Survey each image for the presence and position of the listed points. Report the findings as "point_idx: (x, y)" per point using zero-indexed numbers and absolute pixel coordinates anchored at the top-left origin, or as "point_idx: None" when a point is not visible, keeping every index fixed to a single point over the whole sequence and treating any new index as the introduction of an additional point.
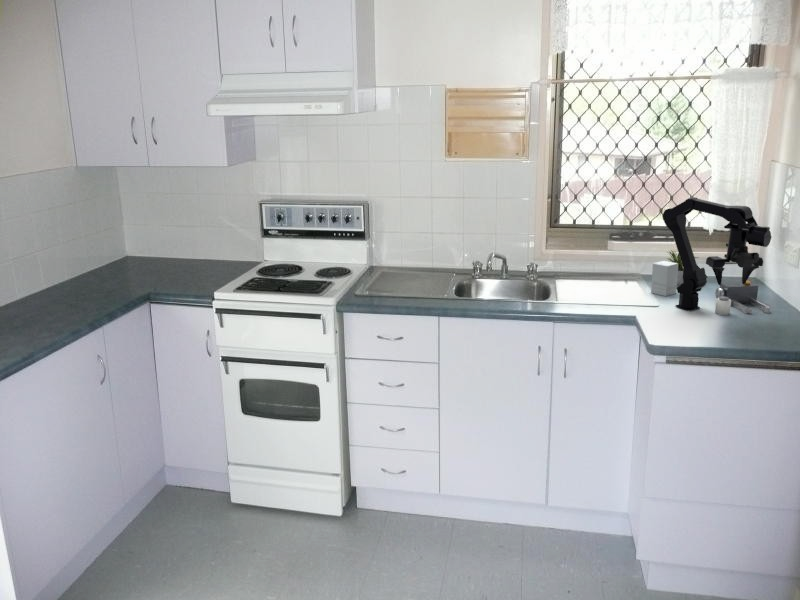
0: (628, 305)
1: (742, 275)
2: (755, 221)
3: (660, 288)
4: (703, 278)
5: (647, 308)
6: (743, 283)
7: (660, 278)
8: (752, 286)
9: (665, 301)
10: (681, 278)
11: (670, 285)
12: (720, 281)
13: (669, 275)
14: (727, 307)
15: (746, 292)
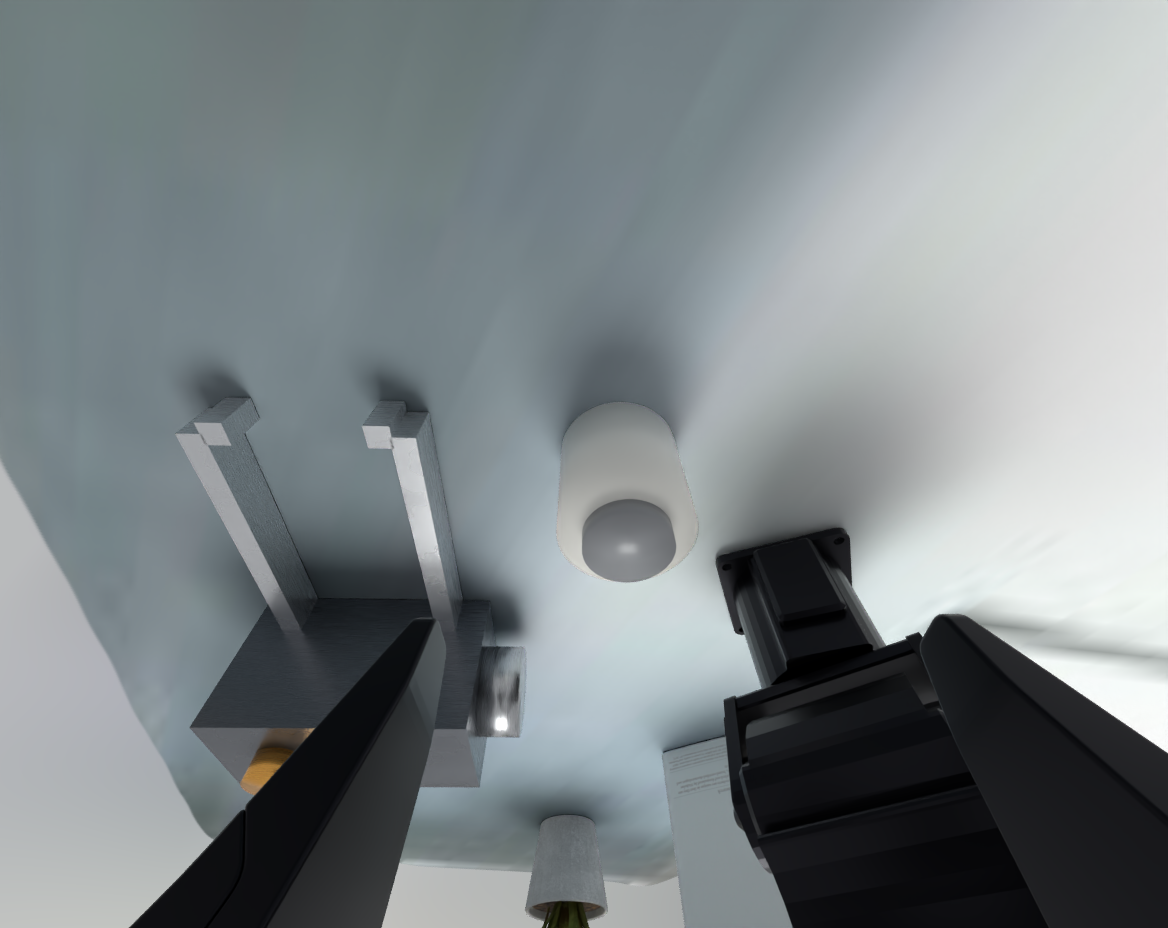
0: (1085, 650)
1: (400, 840)
2: None
3: None
4: (859, 824)
5: (1041, 598)
6: (436, 632)
7: None
8: (245, 723)
9: None
10: (566, 851)
11: (729, 799)
12: (1036, 677)
13: (765, 878)
14: (616, 440)
15: (316, 675)
